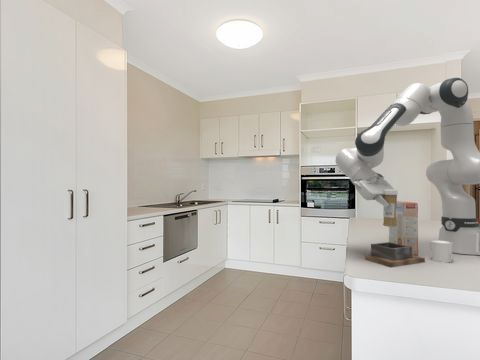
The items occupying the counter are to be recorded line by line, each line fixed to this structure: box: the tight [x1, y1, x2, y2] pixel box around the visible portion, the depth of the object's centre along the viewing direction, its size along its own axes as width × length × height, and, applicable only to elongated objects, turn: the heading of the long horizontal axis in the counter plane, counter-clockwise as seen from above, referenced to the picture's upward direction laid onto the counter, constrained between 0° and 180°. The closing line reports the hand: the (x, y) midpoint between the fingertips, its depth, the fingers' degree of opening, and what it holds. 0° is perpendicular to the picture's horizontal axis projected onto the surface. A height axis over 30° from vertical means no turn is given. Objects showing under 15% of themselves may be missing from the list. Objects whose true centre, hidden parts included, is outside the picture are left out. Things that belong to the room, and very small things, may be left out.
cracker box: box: [388, 200, 419, 256], centre depth 116 cm, size 14×6×21 cm, turn 173°
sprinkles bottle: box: [382, 189, 398, 228], centre depth 102 cm, size 5×5×13 cm
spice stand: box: [364, 241, 426, 268], centre depth 101 cm, size 17×11×6 cm, turn 112°
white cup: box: [429, 239, 453, 264], centre depth 101 cm, size 7×7×7 cm
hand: (391, 206), depth 101 cm, fingers closed on sprinkles bottle, 4 cm apart
